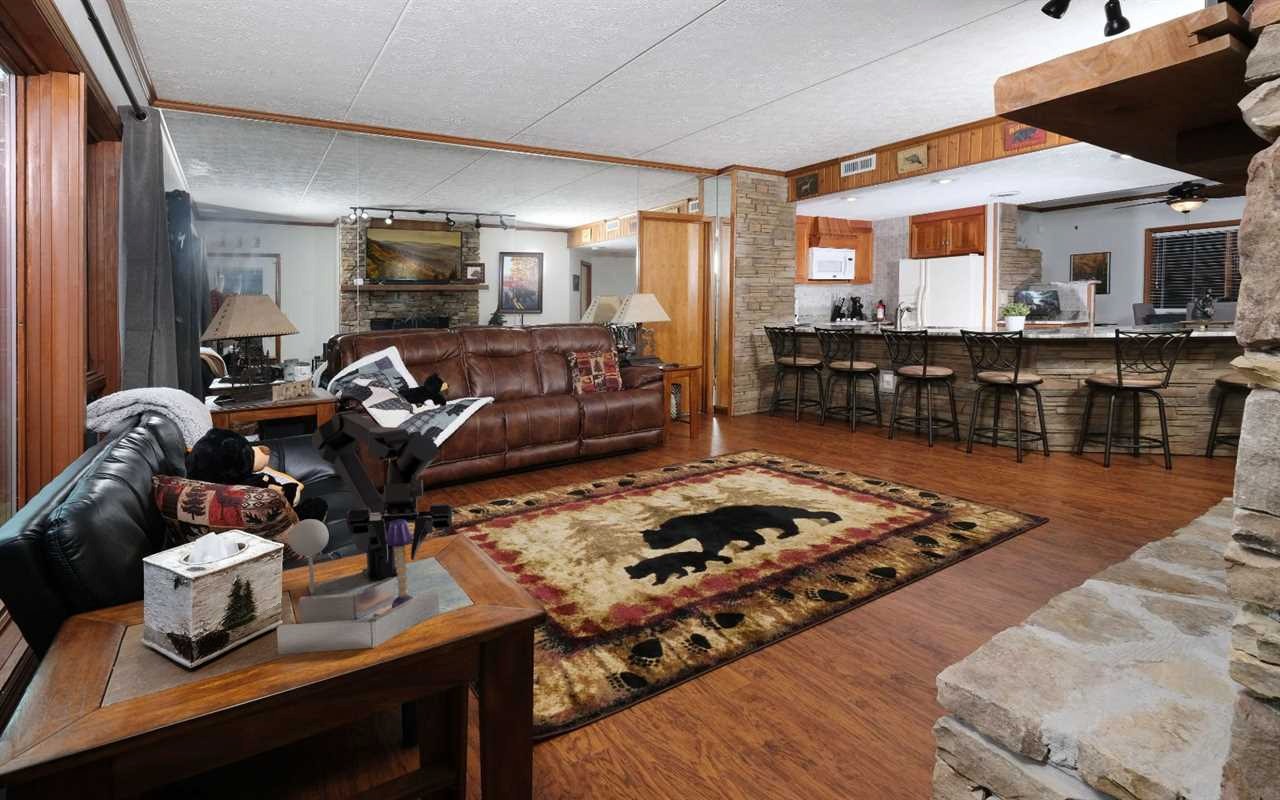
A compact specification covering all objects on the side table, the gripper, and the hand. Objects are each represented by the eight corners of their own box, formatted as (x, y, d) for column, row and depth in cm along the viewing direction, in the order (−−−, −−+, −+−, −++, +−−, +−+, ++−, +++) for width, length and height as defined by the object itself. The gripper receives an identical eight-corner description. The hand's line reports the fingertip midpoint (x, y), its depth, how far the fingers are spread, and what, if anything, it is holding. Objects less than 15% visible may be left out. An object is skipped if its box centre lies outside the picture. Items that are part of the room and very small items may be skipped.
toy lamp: (399, 614, 125) (396, 526, 122) (382, 608, 127) (379, 521, 125) (420, 604, 129) (418, 519, 126) (404, 598, 131) (401, 515, 129)
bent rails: (268, 628, 121) (266, 604, 120) (419, 592, 137) (418, 570, 136) (285, 672, 107) (283, 645, 106) (452, 626, 122) (451, 602, 122)
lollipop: (338, 592, 136) (333, 519, 134) (300, 603, 131) (295, 528, 129) (323, 582, 141) (318, 512, 139) (286, 592, 136) (281, 520, 134)
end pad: (403, 600, 133) (403, 598, 133) (430, 608, 130) (430, 606, 129) (374, 614, 127) (374, 612, 126) (402, 623, 123) (401, 621, 123)
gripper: (345, 467, 126) (337, 545, 117) (450, 462, 130) (450, 537, 121) (353, 496, 134) (347, 571, 125) (452, 491, 139) (452, 563, 130)
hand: (399, 560), depth 125 cm, fingers closed on toy lamp, 4 cm apart
